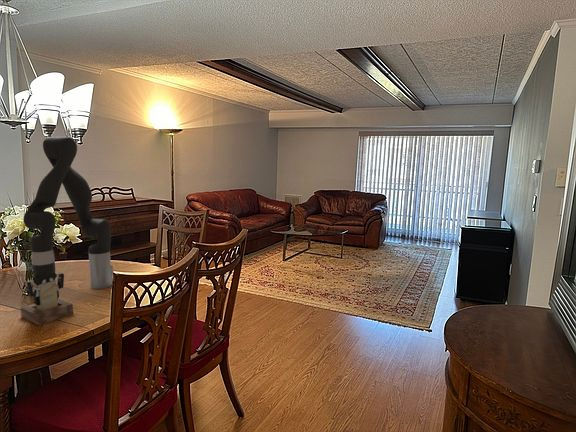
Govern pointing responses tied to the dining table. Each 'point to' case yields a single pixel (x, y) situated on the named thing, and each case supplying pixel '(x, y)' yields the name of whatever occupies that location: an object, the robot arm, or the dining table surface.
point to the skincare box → (47, 296)
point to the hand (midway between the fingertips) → (46, 302)
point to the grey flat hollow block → (46, 312)
